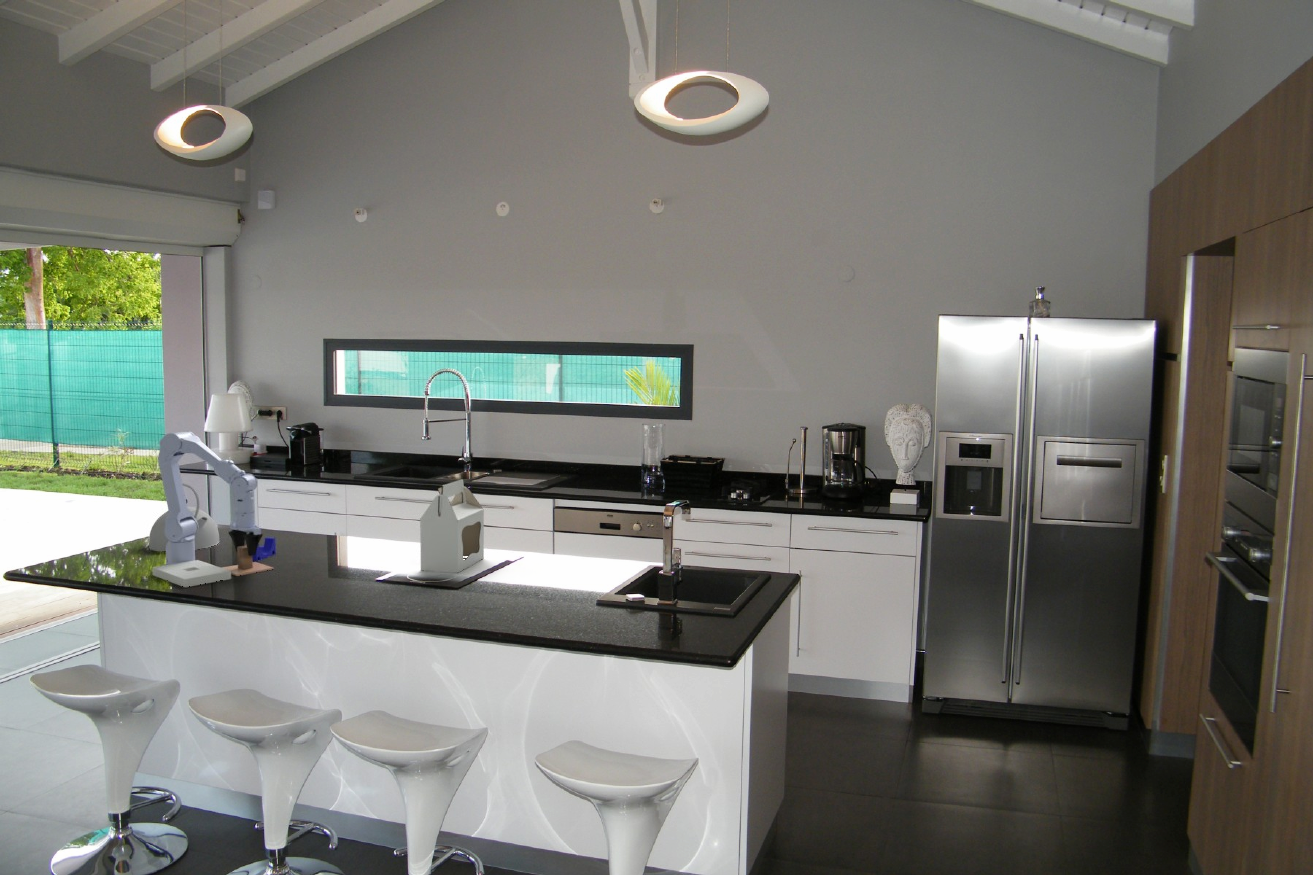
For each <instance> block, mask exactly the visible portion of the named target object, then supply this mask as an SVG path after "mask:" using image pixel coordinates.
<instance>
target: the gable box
mask: <svg viewBox="0 0 1313 875" xmlns="http://www.w3.org/2000/svg"><path fill="white" fill-rule="evenodd" d="M464 484H465V483H464V479H462V478H460V479H457V480H455V481H451V482H448V483H446V484H443V485H442V486H441V487H439V488H437V491H438V493H439V494H437V495H436V496H435V497H434V499H432V502H431V503H430V504H429V506H428V507H427V508H426V510H425V511H424V513H423V514H422V515H421V517H420V520H419V523H420V526H419V527H420V528H419V529H420V531H419V532H420V533H419V534H420V538H419V540H420V571H421V570H424V571H423V572H435V571H441V572H440V573H450V572H459V573H461V572H462V570H463V569H464V570H466V569H468V568H470V567H472V566H473V565H475V564H477V563H478V562H480V561H482V560H483V559H484V558H485V557H484V556H485V555H484V553H485V552H484V549H485V546H484V544H485V542H484V541H485V540H484V537H485V536H484V534H485V531H484V529H485V527H484V526H485V524H484V520H485V517H484V513H485V511H484V508H483V507H482V506H481V504H480V503H479V501H478V499H477V498H476V496H474V494H473V492H472V491H471V490H470V489H469V488H468V487H466V486H464ZM452 497H453V499H452V501H451V502H450V500H449V498H452ZM463 556H468V557H467V558H463ZM463 559H465V560H463ZM481 559H482V560H481ZM479 560H480V561H479ZM477 561H478V562H477ZM476 562H477V563H476ZM472 564H473V565H472ZM469 566H470V567H469ZM467 567H468V568H467ZM464 570H463V571H464ZM460 571H461V572H460Z"/></svg>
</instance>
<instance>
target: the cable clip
mask: <svg viewBox="0 0 1313 875" xmlns="http://www.w3.org/2000/svg"><path fill="white" fill-rule="evenodd" d="M276 544H277V543H276V537H272V536H271V537H269V536H268V537H264V543H263V545H261V546H260V543H259V544H258V547H257V551H256V555H253V556H252V561H257V562H259V561H258V560H260V561H262V560H265V559H268V558H269V557H268V556H270V557H272V556H274V555H273V554H275V555H276ZM261 559H262V560H261Z"/></svg>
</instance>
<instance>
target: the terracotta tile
mask: <svg viewBox="0 0 1313 875" xmlns="http://www.w3.org/2000/svg"><path fill="white" fill-rule="evenodd" d="M221 568H223V569H226V570H229V571H231V575H233V576H236V577H240V575H241V576H245V575H250V574H256V572H257V573H262V572H267V570H268V571H272V569H275V568H274V567H273V566H269V565H267V564H263V563H260V562H258V561H257V562H253V568H250V569H244V570H243V569H239V568H238V564H236V565H235V564H233V565H229V566H223V567H221Z"/></svg>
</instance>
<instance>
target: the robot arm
mask: <svg viewBox="0 0 1313 875" xmlns="http://www.w3.org/2000/svg"><path fill="white" fill-rule="evenodd" d="M158 444H159V452H158V456H157V461H158V466H159V471H160V475H161V481H162V485H163V486H162V487H163V490H164V494H165V499H166V504H167V511H168V510H169V514H168V515H167V517H166V519H165V529H164V533H165V536H166V537H167V539H169V541H168V543H167V544H166V552H165V564H162V566H164V565H170V564H176V563H182V562H188V561H194V560H196V550H195V540H194V538H195V534H196V533H197V532H198V529H199V525H198V522H197V521H196V520H195V518H194V515H193V513H192V512H191V511H190V510H189V509H188V508H187V506H188V502H187V503H186V499H187V498H186V495H185V490H184V486H183V484H182V483H183V480H182V476H181V470H180V465H179V461H180V459H182V457H183V456H184V455H185V454H194V455H195V456H196V457H198V458H200V459H201V460H203V461H204V462H206V464H208V465H209V466H211V467H212V468H214V473H215V475H217V476H218V477H219V478H221V480H223V481H225V482H226V483H227V484H228V485H229V486H230V490H231V492H233V494H234V495H233V496H234V512H235V513H234V517H235V520H234V521H235V522H232V523H231V522H230V524H229V529H230V530H231V531H228V535H229V537H230V538H231V540H232V543H233V546H234V549H235V552H236V553H237V547H239V546H245V545H247V551H248V555H249V556H253V555H256V551H257V547H258V544H259V545H260V541H261V540H262V538H263V535H264V534H263V533H262V528H261V527H259V526H258V525H256V523H255V522H256V521H255V520H256V519H255V518H256V510H255V509H256V508H255V490H256V489H257V487H258V480H257V477H255V475H254V474H253V473H246V471H245V470H242V469H241V468H239V467H238V466H237V465H236V464H235V462H234V461H233V460H229V459H222V458H220V457H219V456H218V455H217V454H216V453H215V452H214V451H213V450H212V449H210V448H209V447H208V446H207V445H206V444H205V443H204V442H203V441H202V440H201V437H199V436H197V435H196V434H194V433H193V432H192V431H189V430H184V431H179V432H169V433H166V434H164V436H163V437H162V438H161V439H160V440H159V442H158Z"/></svg>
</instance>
